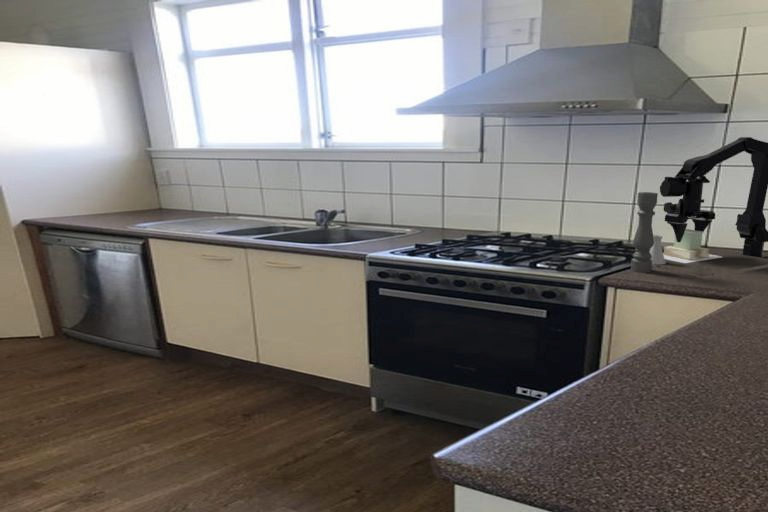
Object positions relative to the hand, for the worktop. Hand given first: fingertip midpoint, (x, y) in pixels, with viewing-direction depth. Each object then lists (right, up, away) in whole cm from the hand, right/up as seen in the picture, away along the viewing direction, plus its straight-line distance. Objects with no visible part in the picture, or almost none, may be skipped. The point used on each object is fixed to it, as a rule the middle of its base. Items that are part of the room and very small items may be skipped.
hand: (687, 240), depth 192 cm
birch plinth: (0, -5, +1) cm, 6 cm away
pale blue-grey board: (0, -6, +1) cm, 6 cm away
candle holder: (-23, -10, -13) cm, 28 cm away
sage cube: (0, -2, 0) cm, 2 cm away
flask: (-15, -9, -7) cm, 18 cm away
